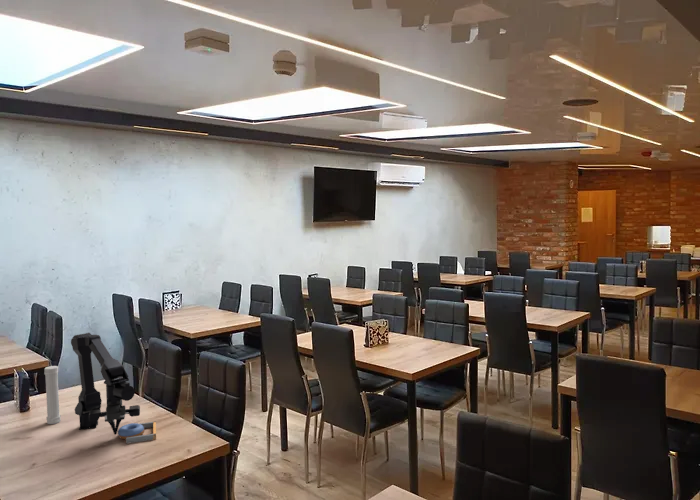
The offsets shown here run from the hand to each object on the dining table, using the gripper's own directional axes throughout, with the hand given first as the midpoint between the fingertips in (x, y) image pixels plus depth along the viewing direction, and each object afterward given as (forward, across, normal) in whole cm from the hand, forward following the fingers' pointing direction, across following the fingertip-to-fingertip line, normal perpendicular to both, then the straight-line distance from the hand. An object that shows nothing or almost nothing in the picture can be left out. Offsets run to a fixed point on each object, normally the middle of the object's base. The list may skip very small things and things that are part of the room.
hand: (115, 434), depth 218 cm
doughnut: (+2, +6, +1) cm, 6 cm away
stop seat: (+2, +10, 0) cm, 10 cm away
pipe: (+2, -27, +29) cm, 40 cm away
